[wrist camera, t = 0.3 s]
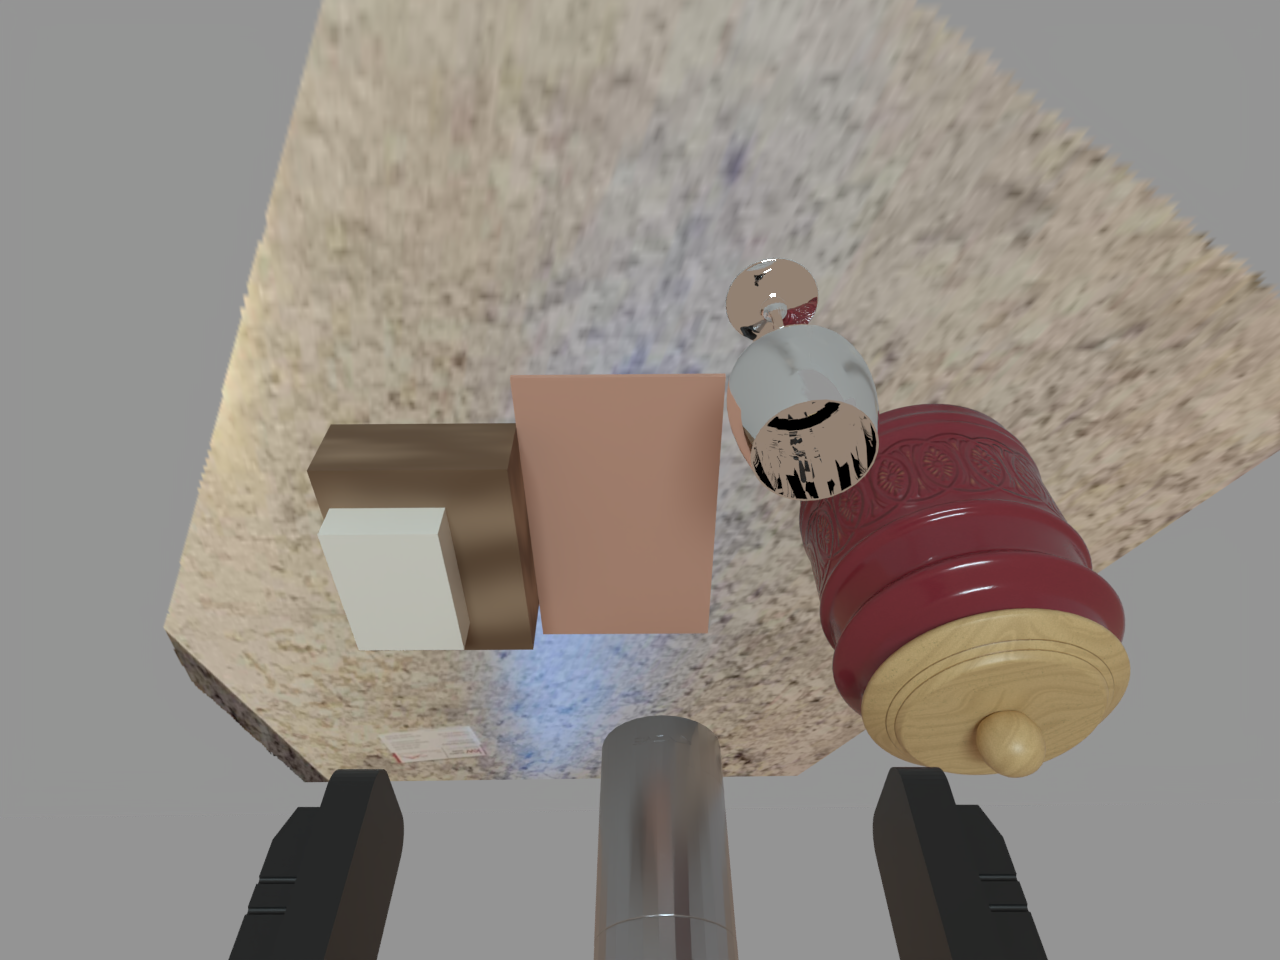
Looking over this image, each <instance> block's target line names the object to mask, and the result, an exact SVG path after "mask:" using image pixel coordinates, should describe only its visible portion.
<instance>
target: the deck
mask: <svg viewBox="0 0 1280 960" xmlns="http://www.w3.org/2000/svg"><path fill="white" fill-rule="evenodd" d="M307 473H308V476H309V479H310V482H311V485H312V488H313V490H314V493H315V496H316V499H317V502H318V505H319V508H320V511H321V513H322V516H323V519H325V517H326V515H327V513H328V510H329V508H445V509H446V514H447V519H448V523H449V528H450V533H451V537H452V542H453V547H454V551H455V556H456V560H457V565H458V570H459V574H460V579H461V584H462V588H463V593H464V598H465V602H466V607H467V611H468V616H469V621H470V625H469V630H468V634H467V639H466V644H465V648H464V650H533V648H534V640H535V633H536V625H537V617H538V609H539V599H538V591H537V583H536V575H535V568H534V560H533V552H532V545H531V537H530V529H529V522H528V514H527V506H526V498H525V491H524V483H523V475H522V468H521V460H520V452H519V445H518V437H517V429H516V423H457V424H331V425H330V427H329V429H328V431H327V433H326V434H325V436H324V438H323V440H322V442H321V444H320V446H319V448H318V450H317V452H316V454H315V456H314V458H313V460H312V461H311V463H310V465H309V467H308V469H307ZM369 651H393V650H369Z"/></svg>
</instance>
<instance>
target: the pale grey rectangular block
mask: <svg viewBox="0 0 1280 960" xmlns="http://www.w3.org/2000/svg"><path fill="white" fill-rule="evenodd" d="M318 538H319V541H320V544H321V546H322V549H323V552H324V555H325V558H326V560H327V563H328V566H329V569H330V571H331V574H332V577H333V580H334V583H335V585H336V588H337V591H338V594H339V596H340V599H341V602H342V605H343V608H344V610H345V613H346V616H347V619H348V621H349V624H350V627H351V630H352V633H353V635H354V638H355V641H356V644H357V646H358V649H359V650H464V648H465V644H466V639H467V634H468V630H469V625H470V621H469V616H468V611H467V607H466V602H465V598H464V593H463V588H462V584H461V579H460V574H459V570H458V565H457V560H456V556H455V551H454V547H453V542H452V537H451V533H450V528H449V523H448V519H447V514H446V509H445V508H329V510H328V513H327V515H326V517H325V519H324V521H323V524H322V526H321V528H320V530H319V532H318Z"/></svg>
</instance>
